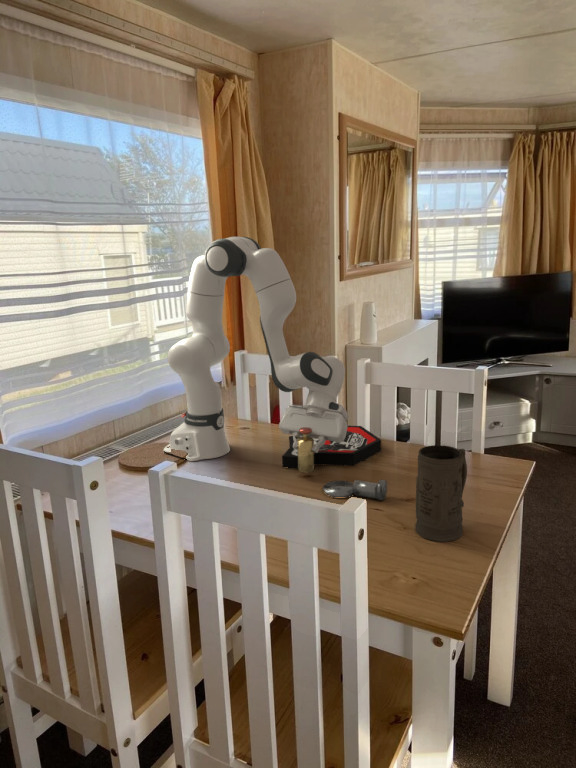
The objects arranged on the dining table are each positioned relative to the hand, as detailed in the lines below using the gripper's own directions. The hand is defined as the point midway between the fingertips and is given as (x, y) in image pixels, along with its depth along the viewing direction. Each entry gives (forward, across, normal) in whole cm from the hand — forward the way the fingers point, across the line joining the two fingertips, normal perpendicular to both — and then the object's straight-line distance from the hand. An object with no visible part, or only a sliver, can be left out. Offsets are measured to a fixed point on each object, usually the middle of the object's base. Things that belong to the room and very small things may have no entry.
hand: (304, 450), depth 164 cm
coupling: (+9, +17, +3) cm, 19 cm away
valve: (+4, 0, +5) cm, 6 cm away
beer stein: (+14, +43, -3) cm, 45 cm away
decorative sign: (-10, -1, +23) cm, 25 cm away
